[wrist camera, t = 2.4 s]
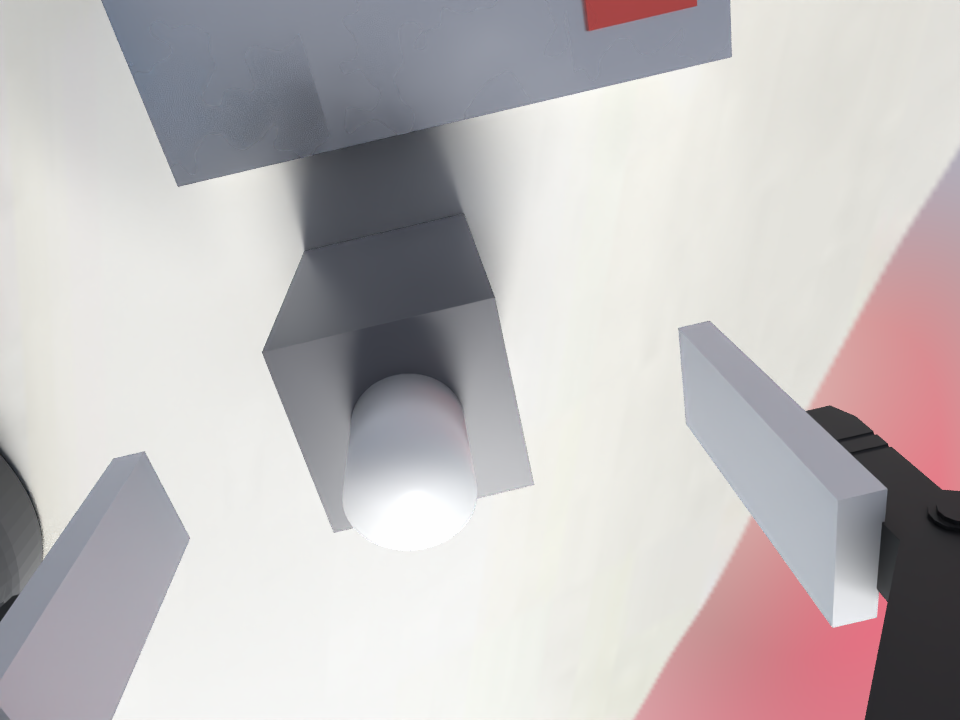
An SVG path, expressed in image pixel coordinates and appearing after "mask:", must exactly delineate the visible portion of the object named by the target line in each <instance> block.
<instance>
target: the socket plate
mask: <svg viewBox="0 0 960 720" xmlns="http://www.w3.org/2000/svg"><path fill="white" fill-rule="evenodd" d="M101 1H102V3H103V6H104V8H105V10H106V13H107V15H108V18H109V20H110V23H111V25H112V27H113V30H114V32H115V35H116V37H117V40H118V42H119V45H120V47H121V49H122V52H123V54H124V57H125V59H126V62H127V64H128V66H129V69H130V71H131V74H132V76H133V79H134V81H135V83H136V86H137V88H138V91H139V93H140V96H141V98H142V100H143V103H144V105H145V108H146V110H147V113H148V115H149V117H150V120H151V122H152V125H153V127H154V130H155V132H156V135H157V137H158V139H159V142H160V144H161V147H162V149H163V152H164V154H165V156H166V159H167V161H168V164H169V166H170V169H171V171H172V173H173V176H174V178H175V181H176V183H177V186H178V187H179V186H183V185H187V184H192V183H196V182H200V181H204V180H209V179H213V178H217V177H221V176H226V175H230V174H234V173H239V172H243V171H247V170H251V169H256V168H260V167H264V166H268V165H273V164H277V163H281V162H286V161H290V160H294V159H298V158H303V157H307V156H311V155H315V154H320V153H324V152H328V151H333V150H337V149H341V148H345V147H350V146H354V145H358V144H362V143H367V142H371V141H375V140H379V139H384V138H388V137H392V136H397V135H401V134H405V133H409V132H414V131H418V130H422V129H426V128H431V127H435V126H439V125H444V124H448V123H452V122H456V121H461V120H465V119H469V118H473V117H478V116H482V115H486V114H490V113H495V112H499V111H503V110H508V109H512V108H516V107H520V106H525V105H529V104H533V103H537V102H542V101H546V100H550V99H555V98H559V97H563V96H567V95H572V94H576V93H580V92H584V91H589V90H593V89H597V88H601V87H606V86H610V85H614V84H619V83H623V82H627V81H631V80H636V79H640V78H644V77H648V76H653V75H657V74H661V73H666V72H670V71H674V70H678V69H683V68H687V67H691V66H695V65H700V64H704V63H708V62H712V61H717V60H721V59H725V58H730V57H732V48H731V16H730V0H101Z"/></svg>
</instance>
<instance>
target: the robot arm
mask: <svg viewBox="0 0 960 720" xmlns="http://www.w3.org/2000/svg"><path fill="white" fill-rule="evenodd" d="M678 330H679V342H680V355H681V367H682V379H683V392H684V404H685V417H686V424H687V426H688V427H689V429H690V430H691V431H692V433H693V434H694V435H695V437H696V438H697V440H698V441H699V442H700V444H701V445H702V447H703V448H704V449H705V451H706V452H707V454H708V455H709V456H710V458H711V459H712V461H713V462H714V463H715V465H716V466H717V468H718V469H719V470H720V472H721V473H722V474H723V476H724V477H725V479H726V480H727V481H728V483H729V484H730V486H731V487H732V488H733V490H734V491H735V493H736V494H737V495H738V497H739V498H740V500H741V501H742V502H743V504H744V505H745V507H746V508H747V509H748V511H749V512H750V513H751V515H752V516H753V518H754V519H755V520H756V522H757V523H758V525H759V526H760V527H761V529H762V530H763V532H764V533H765V534H766V536H767V537H768V539H769V540H770V541H771V543H772V544H773V546H774V547H775V548H776V550H777V551H778V552H779V554H780V555H781V557H782V558H783V559H784V561H785V562H786V564H787V565H788V566H789V568H790V569H791V571H792V572H793V573H794V575H795V576H796V578H797V579H798V580H799V582H800V583H801V585H802V586H803V587H804V589H805V590H806V591H807V593H808V594H809V596H810V597H811V598H812V600H813V601H814V603H815V604H816V605H817V607H818V608H819V610H820V611H821V612H822V614H823V615H824V616H825V618H826V619H827V621H828V622H829V623H830V625H831V626H832V627H837V626H842V625H846V624H850V623H855V622H859V621H863V620H868V619H872V618H876V617H877V608H878V596H879V592H880V593H881V595H882V596H883V597H884V598H885V599H886V601H887V602H888V604H887V609H886V614H885V619H884V624H883V629H882V634H881V640H880V645H879V650H878V655H877V660H876V665H875V670H874V675H873V680H872V685H871V691H870V695H869V701H868V706H867V711H866V716H865V720H960V491H951V490H942V489H940V488H939V487H938V486H937V485H936V484H935V483H933V482H932V481H931V480H930V479H929V478H928V477H926V476H925V475H924V474H923V473H922V472H920V471H919V470H918V469H917V468H916V467H915V466H913V465H912V464H911V463H910V462H909V461H908V460H906V459H905V458H904V457H903V456H902V455H900V454H899V453H898V452H897V451H896V450H895V449H893V448H892V447H889V446H888V443H886V442H885V441H884V440H883V439H882V438H881V437H879V436H878V435H874V433H873V431H872V430H871V429H870V428H869V427H868V426H866V425H865V424H864V423H863V422H862V421H860V420H859V419H858V418H857V417H855V416H854V415H851V414H849V413H847V412H844V411H842V410H839V409H837V408H835V407H832V406H826V407H821V408H817V409H813V410H808V411H805V410H804V409H802V408H801V407H800V406H799V405H798V404H797V403H796V402H795V401H794V400H793V399H792V398H791V397H790V396H789V395H788V394H787V393H786V392H784V391H783V390H782V389H781V388H780V387H779V386H778V385H777V384H776V383H775V382H774V381H773V380H772V379H771V378H770V377H769V376H768V375H766V374H765V373H764V372H763V371H762V370H761V369H760V368H759V367H758V366H757V365H756V364H755V363H754V362H753V361H752V360H751V359H750V358H748V357H747V356H746V355H745V354H744V353H743V352H742V351H741V350H740V349H739V348H738V347H737V346H736V345H735V344H734V343H733V342H732V341H730V340H729V339H728V338H727V337H726V336H725V335H724V334H723V333H722V332H721V331H720V330H719V329H718V328H717V327H716V326H715V325H714V324H712V323H711V322H710V321H707V322H702V323H698V324H694V325H689V326H685V327H681V328H678ZM189 539H190V537H189V535H188V533H187V532H186V530H185V528H184V526H183V524H182V522H181V520H180V518H179V516H178V514H177V512H176V511H175V509H174V507H173V505H172V503H171V501H170V499H169V497H168V495H167V493H166V491H165V490H164V488H163V486H162V484H161V482H160V480H159V478H158V476H157V474H156V472H155V470H154V469H153V467H152V465H151V463H150V461H149V459H148V457H147V455H146V453H145V451H144V452H140V453H136V454H131V455H127V456H123V457H118V458H114V459H113V460H112V461H111V463H110V464H109V466H108V467H107V469H106V470H105V472H104V473H103V474H102V476H101V477H100V479H99V480H98V482H97V483H96V485H95V486H94V487H93V489H92V490H91V492H90V493H89V495H88V496H87V498H86V499H85V500H84V502H83V503H82V505H81V506H80V508H79V509H78V511H77V512H76V513H75V515H74V516H73V518H72V519H71V521H70V522H69V524H68V525H67V526H66V528H65V529H64V531H63V532H62V534H61V535H60V537H59V538H58V539H57V541H56V542H55V544H54V545H53V547H52V548H51V550H50V551H49V552H48V554H47V555H46V557H45V558H44V560H43V561H42V556H43V547H42V536H41V531H40V526H39V522H38V519H37V515H36V513H35V510H34V507H33V505H32V502H31V500H30V498H29V496H28V494H27V492H26V490H25V489H24V487H23V485H22V483H21V482H20V480H19V478H18V477H17V476H16V474H15V473H14V471H13V470H12V468H11V467H10V466H9V465H8V463H7V462H6V461H5V460H4V458H3V457H2V456H1V455H0V720H112V718H113V716H114V713H115V711H116V709H117V706H118V704H119V702H120V699H121V697H122V695H123V692H124V690H125V688H126V685H127V683H128V681H129V678H130V676H131V674H132V672H133V669H134V667H135V665H136V662H137V660H138V658H139V655H140V653H141V651H142V648H143V646H144V644H145V641H146V639H147V637H148V634H149V632H150V630H151V627H152V625H153V623H154V621H155V618H156V616H157V614H158V611H159V609H160V607H161V604H162V602H163V600H164V597H165V595H166V593H167V590H168V588H169V586H170V583H171V581H172V579H173V576H174V574H175V572H176V569H177V567H178V565H179V563H180V560H181V558H182V556H183V553H184V551H185V549H186V546H187V544H188V542H189Z"/></svg>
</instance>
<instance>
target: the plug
mask: <svg viewBox="0 0 960 720" xmlns="http://www.w3.org/2000/svg"><path fill="white" fill-rule="evenodd" d="M262 354H263V356H264V359H265V361H266V364H267V366H268V369H269V371H270V374H271V376H272V379H273V381H274V384H275V386H276V389H277V391H278V394H279V396H280V399H281V401H282V404H283V406H284V409H285V411H286V414H287V416H288V419H289V421H290V424H291V426H292V429H293V431H294V434H295V437H296V439H297V442H298V444H299V447H300V449H301V452H302V454H303V457H304V459H305V462H306V464H307V467H308V469H309V472H310V474H311V477H312V479H313V482H314V484H315V487H316V489H317V492H318V494H319V497H320V499H321V502H322V504H323V507H324V509H325V512H326V514H327V517H328V519H329V522H330V524H331V527H332V529H333V532H334V533H335V532H339V531H343V530H347V529H351V528H354V529H355V530H356V531H357V532H358V533H359V534H360V535H361V536H363V537H364V538H365V539H367V540H369V541H370V542H372V543H374V544H376V545H379V546H382V547H385V548H389V549H393V550H403V551H411V550H421V549H426V548H430V547H433V546H436V545H438V544H441V543H443V542H445V541H447V540H449V539H450V538H452V537H453V536H454V535H456V534H457V533H458V532H459V531H460V530H462V528H463V527H464V526H465V525H466V524H467V523H468V521H469V520H470V518H471V516H472V514H473V512H474V509H475V506H476V502H477V498H481V497H485V496H490V495H494V494H498V493H502V492H506V491H511V490H515V489H519V488H523V487H527V486H532V485H534V481H533V477H532V472H531V467H530V462H529V458H528V453H527V448H526V443H525V439H524V434H523V429H522V424H521V420H520V415H519V410H518V406H517V401H516V396H515V391H514V387H513V382H512V377H511V372H510V368H509V363H508V358H507V353H506V349H505V344H504V339H503V335H502V330H501V325H500V320H499V316H498V311H497V306H496V301H495V297H494V294H493V292H492V289H491V286H490V283H489V281H488V278H487V275H486V273H485V270H484V267H483V264H482V262H481V259H480V256H479V254H478V251H477V248H476V245H475V243H474V240H473V237H472V235H471V232H470V229H469V226H468V224H467V221H466V218H465V216H464V214H460V215H455V216H451V217H447V218H443V219H438V220H434V221H430V222H426V223H421V224H417V225H413V226H409V227H404V228H400V229H396V230H392V231H387V232H383V233H379V234H375V235H370V236H366V237H362V238H358V239H354V240H349V241H345V242H341V243H337V244H332V245H328V246H324V247H320V248H315V249H311V250H307V251H304V253H303V256H302V258H301V261H300V263H299V265H298V268H297V270H296V273H295V275H294V277H293V280H292V282H291V284H290V287H289V289H288V292H287V294H286V296H285V299H284V301H283V304H282V306H281V308H280V311H279V313H278V315H277V318H276V320H275V323H274V325H273V327H272V330H271V332H270V335H269V337H268V339H267V342H266V344H265V346H264V349H263V351H262Z"/></svg>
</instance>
